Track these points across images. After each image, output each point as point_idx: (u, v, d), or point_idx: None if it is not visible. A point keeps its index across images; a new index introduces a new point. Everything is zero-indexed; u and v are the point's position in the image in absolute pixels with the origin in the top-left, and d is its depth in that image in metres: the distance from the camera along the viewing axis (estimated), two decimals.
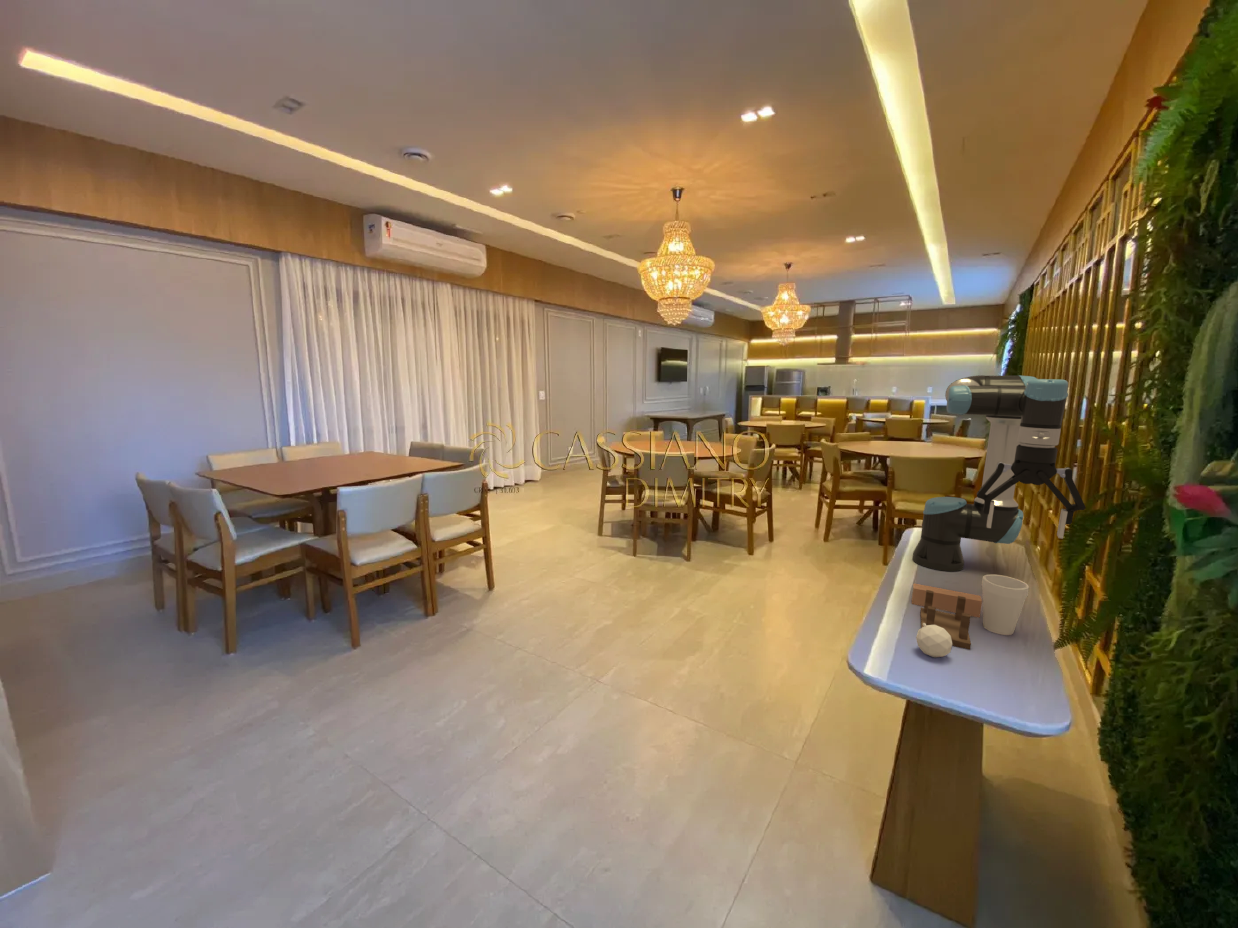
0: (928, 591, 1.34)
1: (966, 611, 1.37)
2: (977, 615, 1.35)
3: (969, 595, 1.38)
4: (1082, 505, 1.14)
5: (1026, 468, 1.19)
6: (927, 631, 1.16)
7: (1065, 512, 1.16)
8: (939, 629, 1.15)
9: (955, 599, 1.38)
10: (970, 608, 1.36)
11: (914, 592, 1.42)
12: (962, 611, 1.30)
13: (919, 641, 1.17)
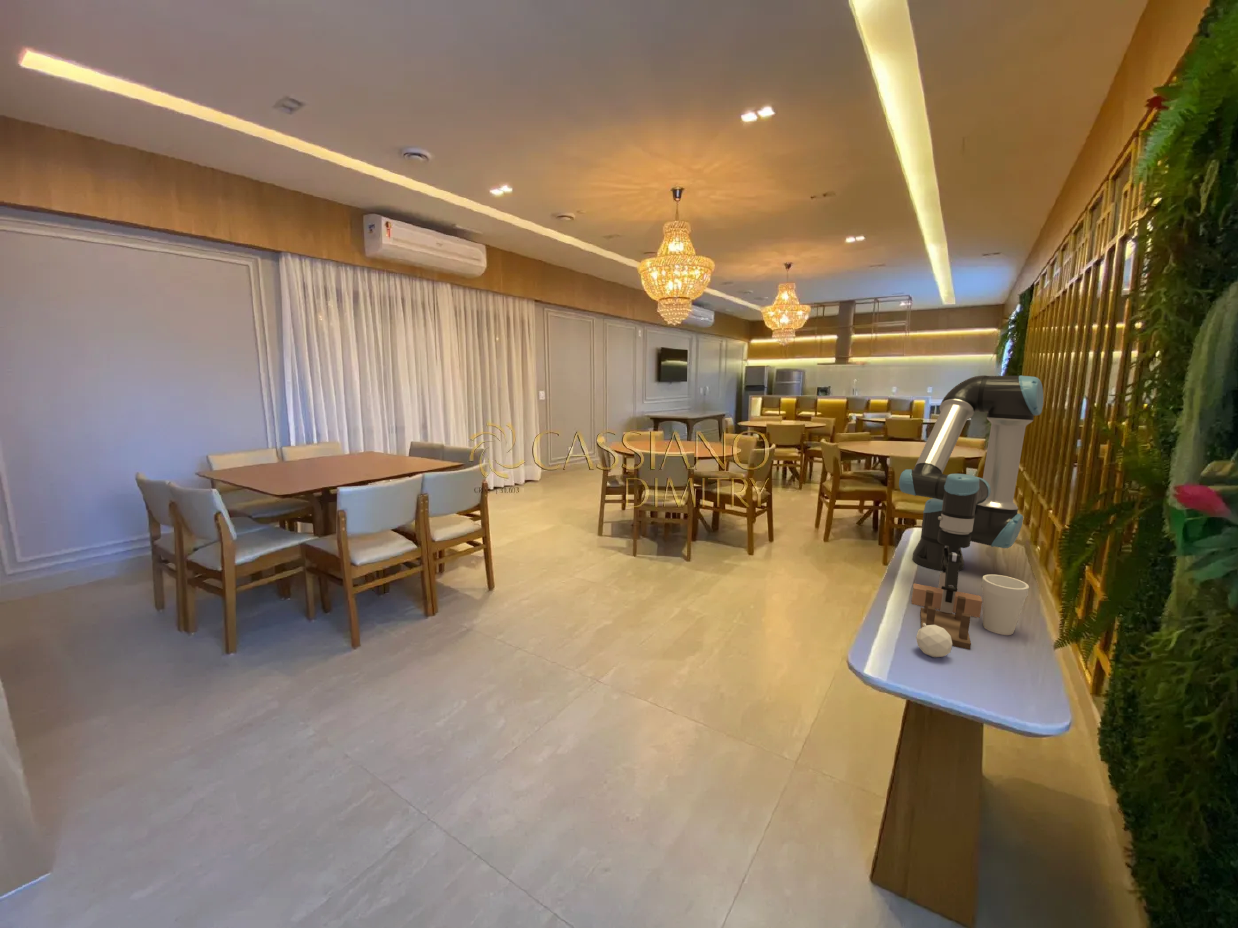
0: (928, 591, 1.34)
1: (966, 611, 1.37)
2: (977, 615, 1.35)
3: (969, 595, 1.38)
4: (945, 585, 1.31)
5: (946, 547, 1.40)
6: (927, 631, 1.16)
7: (943, 589, 1.34)
8: (939, 629, 1.15)
9: (955, 599, 1.38)
10: (970, 608, 1.36)
11: (914, 592, 1.42)
12: (962, 611, 1.30)
13: (919, 641, 1.17)
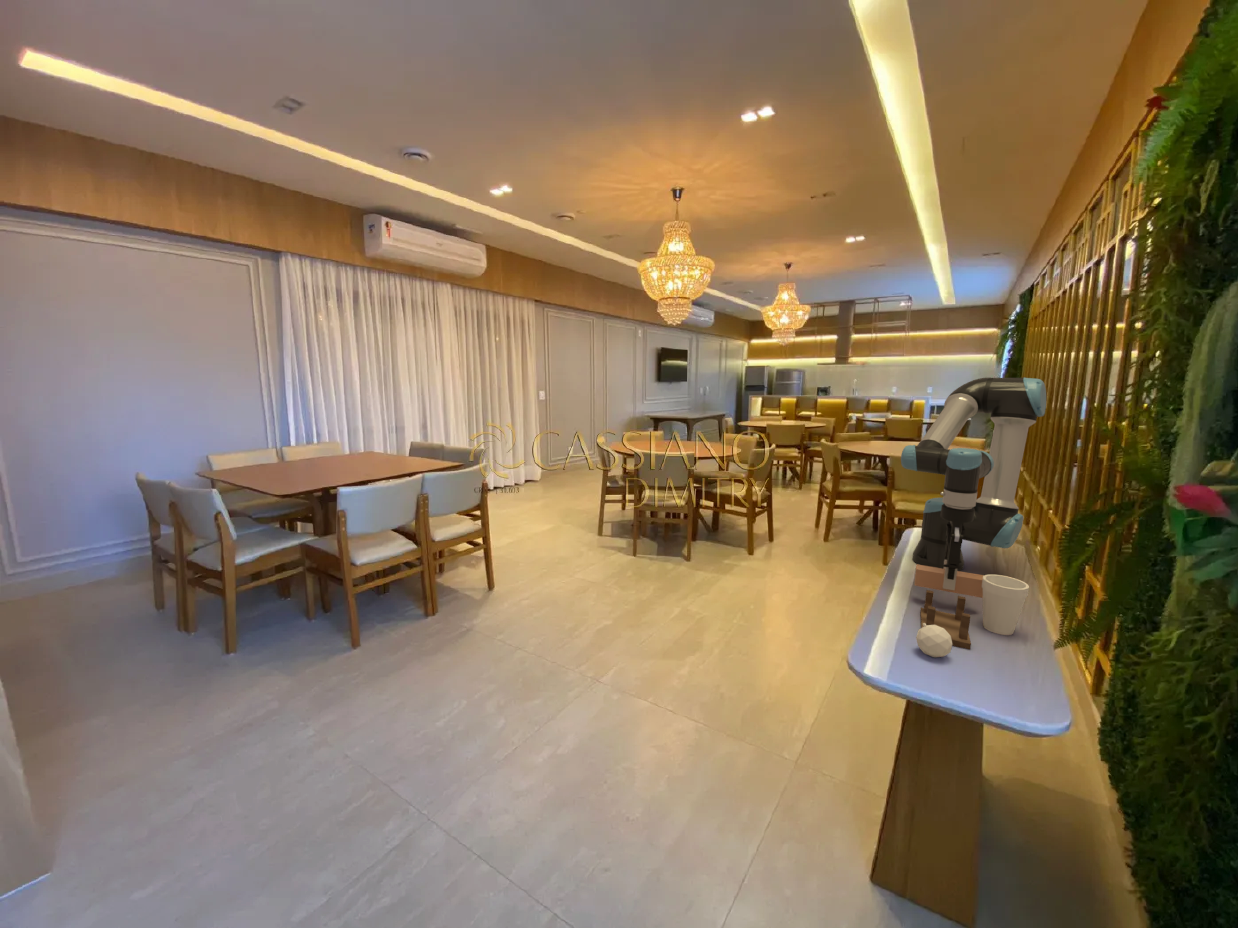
0: (928, 591, 1.34)
1: (969, 591, 1.36)
2: (980, 594, 1.35)
3: (972, 575, 1.37)
4: (947, 563, 1.35)
5: (950, 523, 1.39)
6: (927, 631, 1.16)
7: None
8: (939, 629, 1.15)
9: (958, 579, 1.37)
10: (973, 587, 1.35)
11: (917, 573, 1.42)
12: (962, 611, 1.30)
13: (919, 641, 1.17)
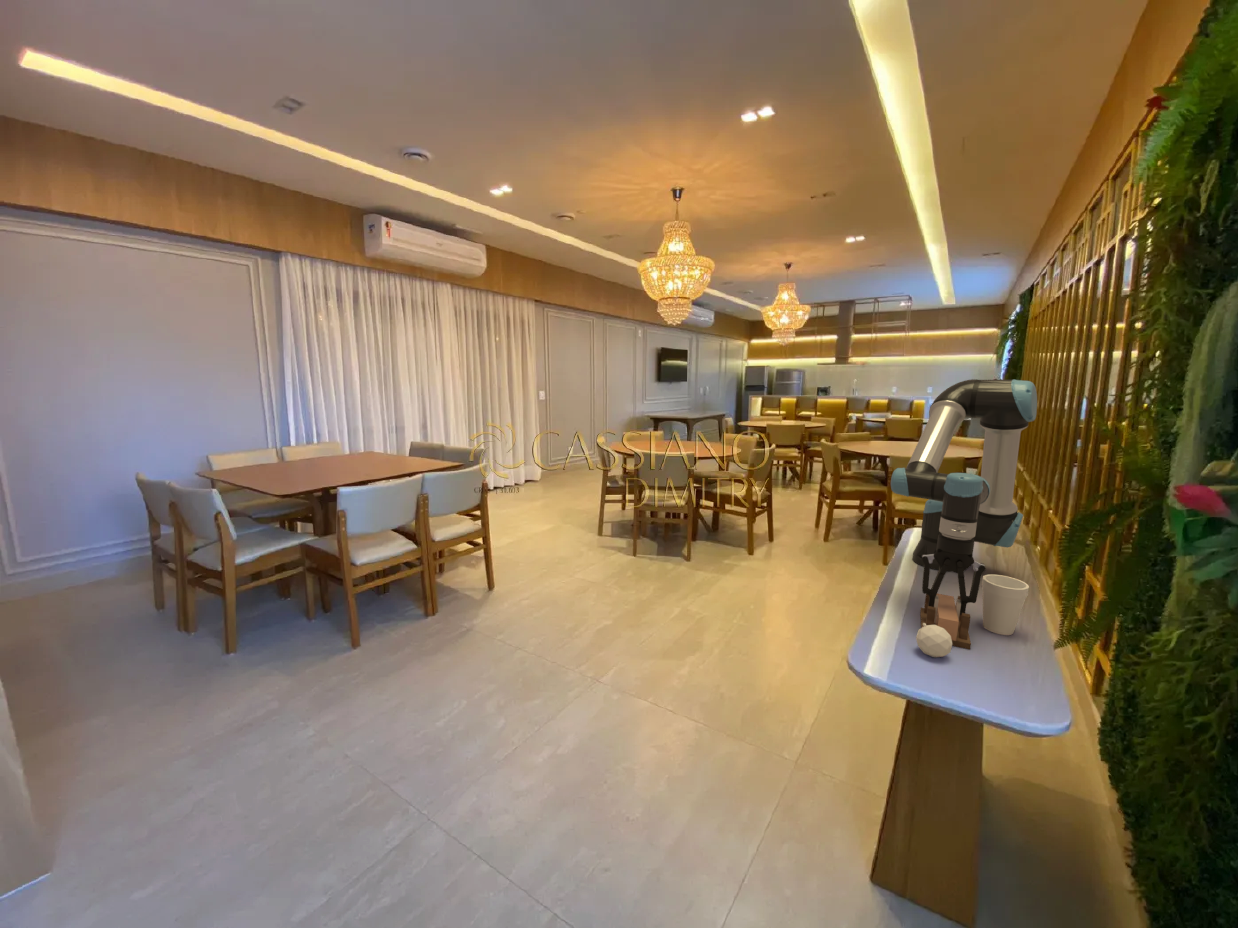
0: None
1: None
2: None
3: (942, 598, 1.32)
4: (974, 599, 1.23)
5: (945, 557, 1.25)
6: (927, 631, 1.16)
7: (959, 604, 1.25)
8: (939, 629, 1.15)
9: None
10: None
11: None
12: None
13: (919, 641, 1.17)
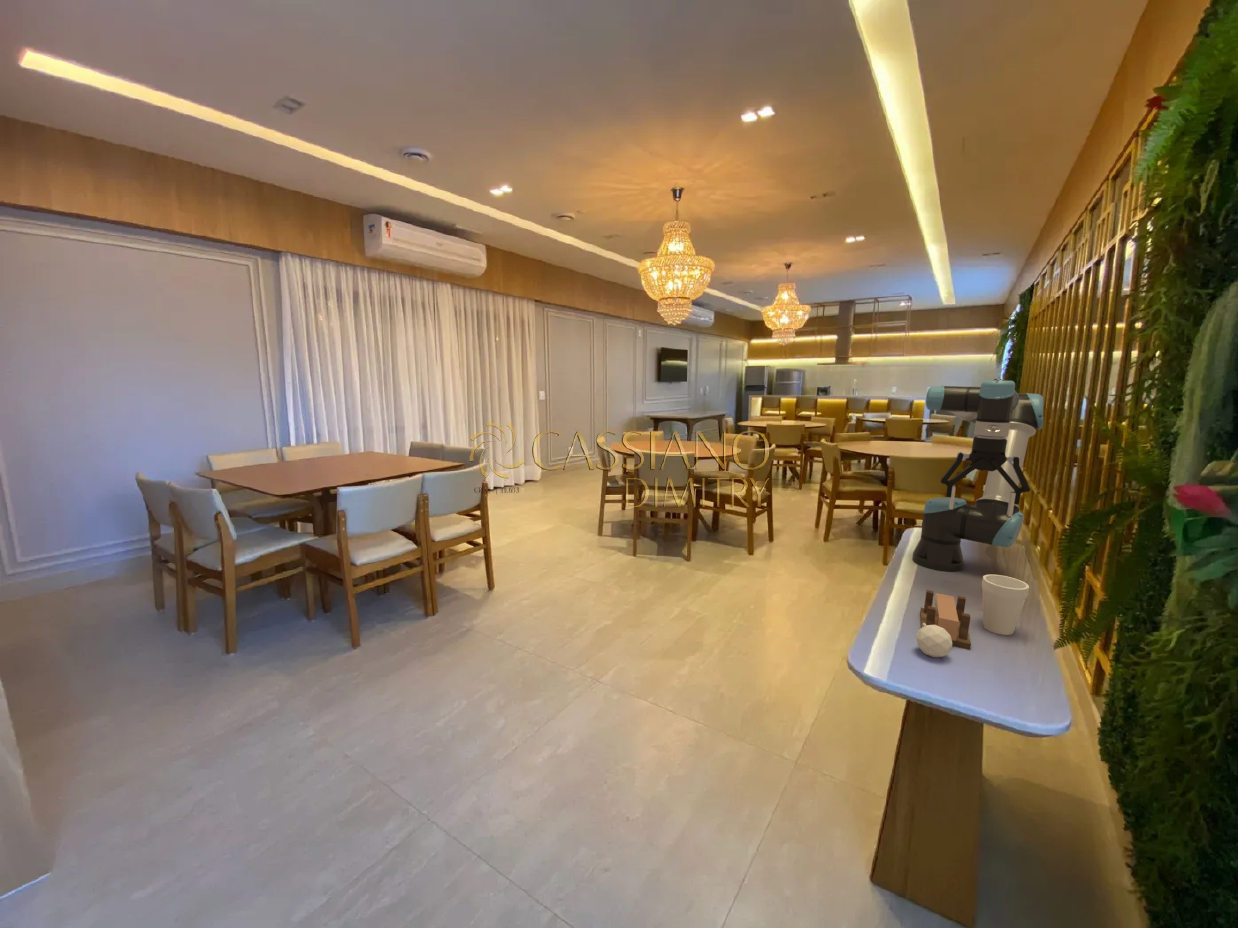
0: (928, 591, 1.34)
1: None
2: None
3: (942, 597, 1.32)
4: (1027, 487, 1.34)
5: (981, 457, 1.38)
6: (927, 631, 1.16)
7: (1014, 494, 1.35)
8: (939, 629, 1.15)
9: None
10: None
11: None
12: (962, 611, 1.30)
13: (919, 641, 1.17)
